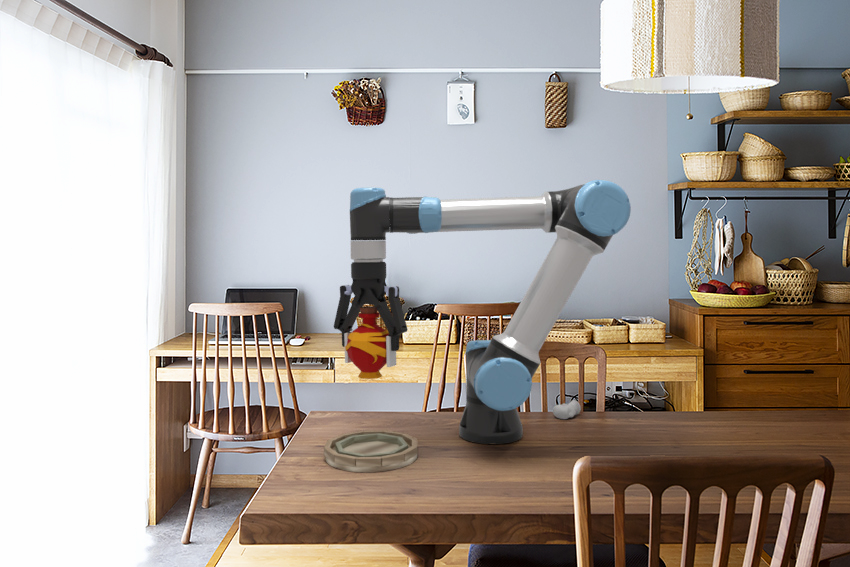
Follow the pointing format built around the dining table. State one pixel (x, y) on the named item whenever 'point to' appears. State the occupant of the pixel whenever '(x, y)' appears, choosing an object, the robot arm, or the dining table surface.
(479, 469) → the dining table surface
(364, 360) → the potion bottle
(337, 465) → the tray
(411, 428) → the dining table surface
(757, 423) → the dining table surface
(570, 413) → the pale two-lobed sculpture
